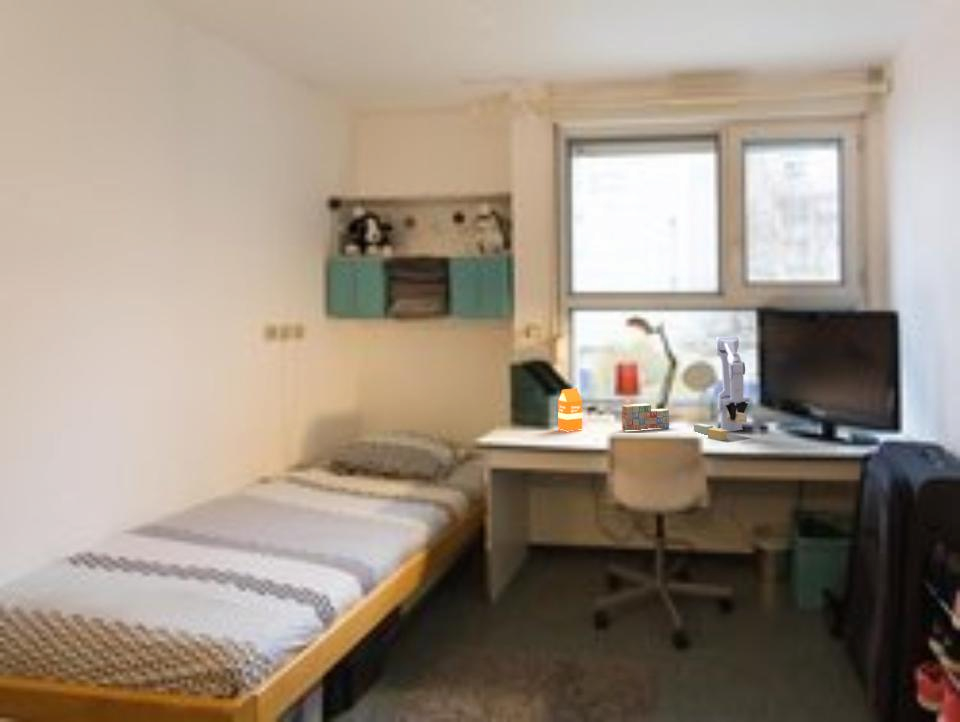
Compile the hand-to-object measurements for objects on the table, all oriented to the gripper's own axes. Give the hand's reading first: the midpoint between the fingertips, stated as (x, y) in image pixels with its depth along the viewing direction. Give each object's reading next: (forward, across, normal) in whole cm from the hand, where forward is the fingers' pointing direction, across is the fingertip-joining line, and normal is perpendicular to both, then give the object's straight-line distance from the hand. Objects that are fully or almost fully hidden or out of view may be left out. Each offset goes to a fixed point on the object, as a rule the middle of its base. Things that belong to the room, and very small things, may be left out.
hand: (736, 419), depth 397 cm
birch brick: (+1, 0, 0) cm, 1 cm away
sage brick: (+8, -6, +14) cm, 17 cm away
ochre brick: (+8, -10, +2) cm, 13 cm away
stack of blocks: (+9, -19, +40) cm, 45 cm away
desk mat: (+8, -5, +7) cm, 12 cm away
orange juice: (+9, -48, +60) cm, 78 cm away
